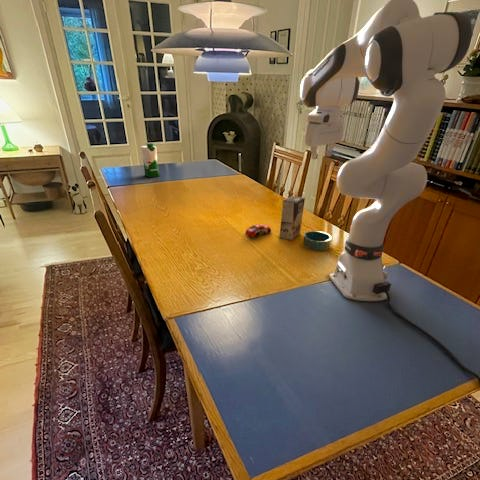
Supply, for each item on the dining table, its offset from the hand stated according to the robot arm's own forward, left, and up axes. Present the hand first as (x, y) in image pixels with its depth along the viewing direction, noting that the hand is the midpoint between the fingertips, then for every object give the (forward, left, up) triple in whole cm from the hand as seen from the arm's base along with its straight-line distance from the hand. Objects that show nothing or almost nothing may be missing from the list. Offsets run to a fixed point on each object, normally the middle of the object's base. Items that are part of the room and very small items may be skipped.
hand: (321, 157), depth 130 cm
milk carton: (+102, +93, -33) cm, 142 cm away
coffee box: (+4, +8, -33) cm, 34 cm away
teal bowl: (-7, -2, -33) cm, 34 cm away
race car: (+5, +22, -33) cm, 40 cm away
